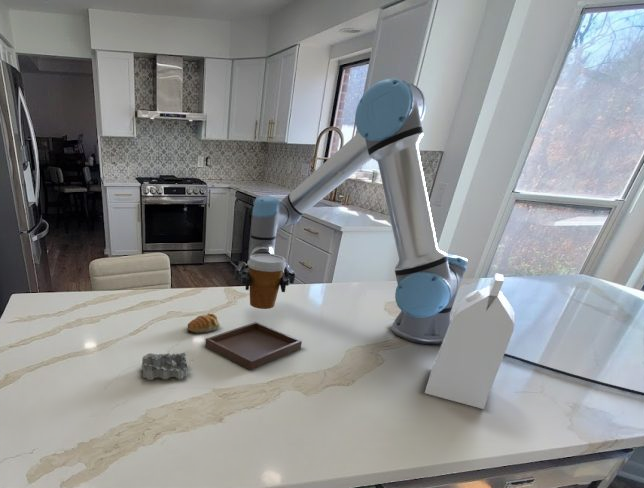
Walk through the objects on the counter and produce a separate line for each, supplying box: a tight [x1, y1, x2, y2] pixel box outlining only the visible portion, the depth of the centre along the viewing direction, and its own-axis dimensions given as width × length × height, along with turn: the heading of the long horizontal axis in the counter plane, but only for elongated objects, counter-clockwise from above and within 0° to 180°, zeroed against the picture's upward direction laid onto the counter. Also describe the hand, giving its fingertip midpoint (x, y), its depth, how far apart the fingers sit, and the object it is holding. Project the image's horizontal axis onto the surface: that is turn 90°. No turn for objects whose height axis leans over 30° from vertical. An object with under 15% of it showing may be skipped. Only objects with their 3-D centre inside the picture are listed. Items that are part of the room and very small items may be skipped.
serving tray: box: [204, 321, 303, 371], centre depth 114 cm, size 17×20×2 cm
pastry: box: [186, 313, 221, 334], centre depth 124 cm, size 9×7×4 cm
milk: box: [424, 273, 516, 410], centre depth 92 cm, size 12×12×26 cm
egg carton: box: [141, 352, 189, 381], centre depth 100 cm, size 11×8×4 cm
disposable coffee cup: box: [246, 254, 287, 310], centre depth 108 cm, size 10×10×12 cm
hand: (265, 285), depth 103 cm, fingers closed on disposable coffee cup, 8 cm apart
